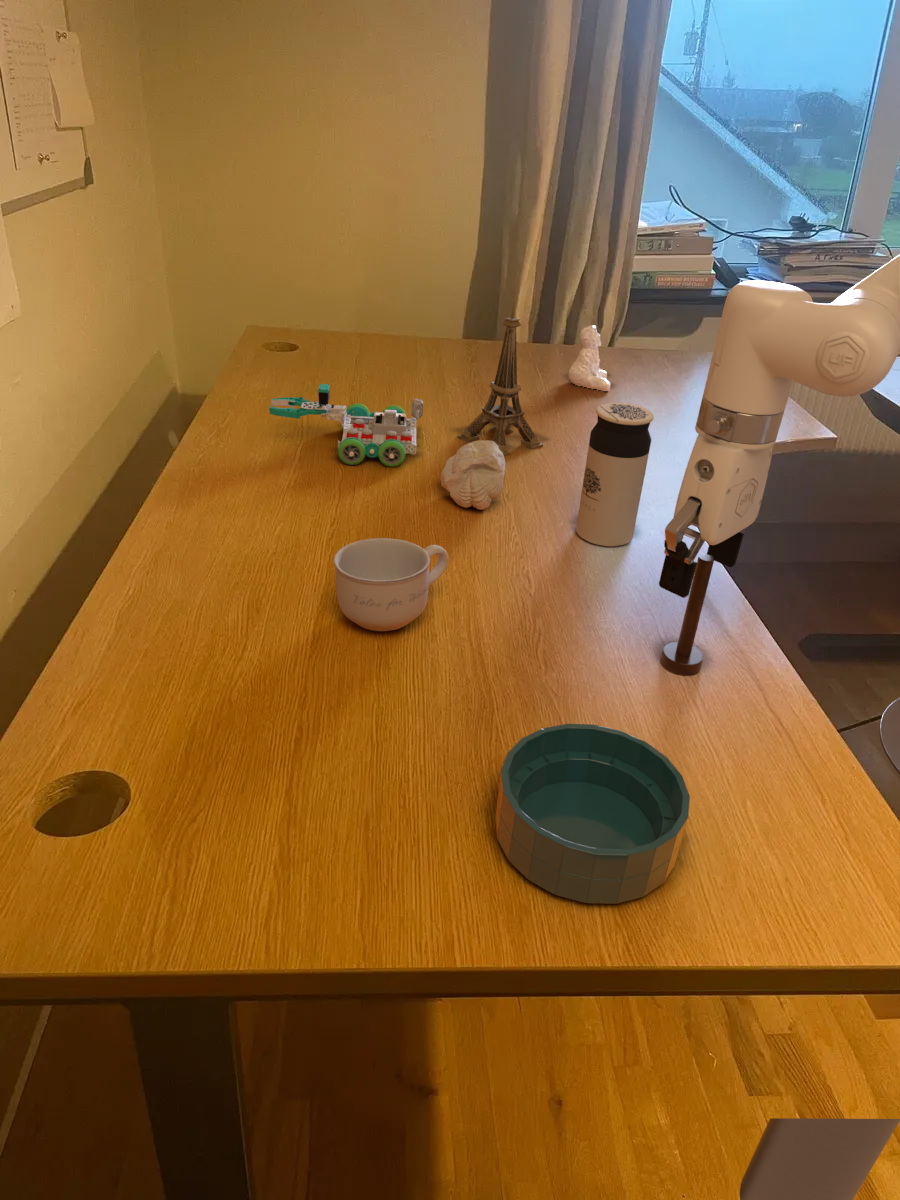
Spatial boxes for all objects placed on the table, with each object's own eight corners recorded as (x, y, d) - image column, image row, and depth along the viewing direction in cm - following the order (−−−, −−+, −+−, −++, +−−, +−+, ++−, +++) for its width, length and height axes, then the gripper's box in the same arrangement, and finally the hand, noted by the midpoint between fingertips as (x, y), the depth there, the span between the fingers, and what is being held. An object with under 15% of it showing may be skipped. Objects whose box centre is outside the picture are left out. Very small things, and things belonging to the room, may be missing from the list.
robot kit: (277, 421, 154) (275, 368, 150) (421, 428, 156) (424, 376, 151) (262, 463, 139) (259, 405, 134) (422, 470, 140) (425, 413, 135)
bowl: (652, 776, 82) (664, 726, 79) (695, 910, 69) (712, 857, 66) (489, 772, 82) (495, 721, 78) (502, 907, 69) (510, 852, 65)
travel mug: (621, 521, 129) (643, 401, 120) (640, 547, 122) (665, 422, 113) (569, 522, 128) (587, 401, 118) (584, 548, 121) (605, 422, 112)
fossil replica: (458, 521, 126) (518, 516, 131) (469, 468, 121) (530, 465, 126) (422, 482, 134) (479, 479, 139) (431, 431, 130) (490, 429, 135)
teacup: (349, 649, 97) (349, 586, 93) (323, 599, 105) (322, 539, 101) (466, 629, 102) (472, 569, 98) (432, 583, 110) (436, 525, 106)
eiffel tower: (543, 446, 153) (562, 296, 140) (497, 457, 147) (512, 302, 134) (502, 426, 160) (517, 282, 147) (457, 437, 154) (468, 287, 141)
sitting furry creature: (610, 393, 180) (620, 333, 174) (568, 390, 180) (576, 330, 174) (605, 379, 188) (614, 321, 182) (564, 376, 188) (572, 318, 182)
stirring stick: (694, 653, 101) (721, 548, 94) (705, 676, 97) (733, 568, 90) (656, 652, 100) (680, 546, 93) (665, 675, 97) (691, 566, 90)
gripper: (730, 454, 76) (686, 620, 85) (814, 413, 88) (767, 564, 97) (656, 427, 80) (621, 588, 89) (745, 392, 92) (706, 538, 101)
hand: (697, 576), depth 93 cm, fingers open, 9 cm apart
